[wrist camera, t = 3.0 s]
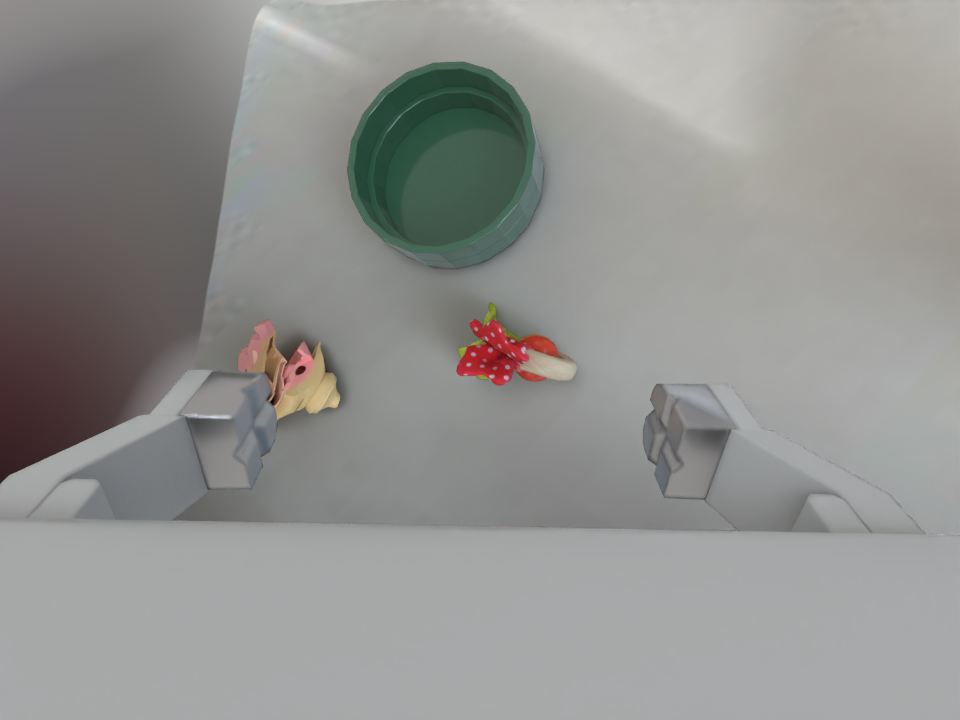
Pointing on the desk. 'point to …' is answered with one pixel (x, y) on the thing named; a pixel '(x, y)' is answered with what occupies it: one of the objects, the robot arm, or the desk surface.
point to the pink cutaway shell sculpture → (290, 374)
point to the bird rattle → (511, 355)
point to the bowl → (446, 165)
